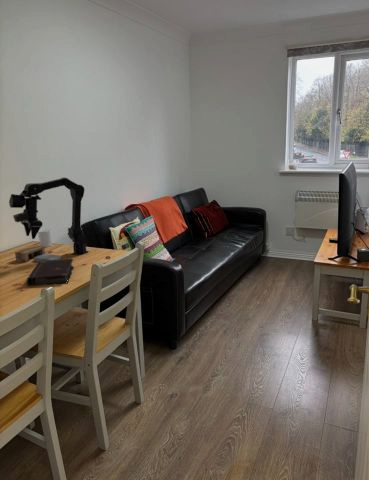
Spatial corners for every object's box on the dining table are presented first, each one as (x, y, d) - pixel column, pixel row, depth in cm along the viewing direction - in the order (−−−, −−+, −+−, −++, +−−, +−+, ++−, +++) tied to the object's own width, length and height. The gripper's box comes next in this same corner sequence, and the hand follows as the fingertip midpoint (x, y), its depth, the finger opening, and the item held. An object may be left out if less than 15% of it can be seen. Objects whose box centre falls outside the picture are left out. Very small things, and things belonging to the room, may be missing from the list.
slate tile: (61, 260, 217) (61, 255, 216) (51, 264, 210) (51, 259, 209) (44, 258, 221) (44, 253, 221) (34, 262, 214) (33, 257, 214)
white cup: (53, 246, 243) (52, 231, 241) (40, 248, 240) (38, 232, 238) (52, 243, 250) (50, 228, 248) (39, 245, 247) (37, 229, 244)
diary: (27, 287, 177) (25, 277, 176) (38, 270, 201) (37, 261, 200) (69, 284, 180) (68, 274, 178) (75, 267, 204) (74, 258, 202)
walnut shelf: (45, 255, 225) (44, 246, 224) (25, 262, 212) (24, 253, 211) (35, 253, 228) (34, 245, 227) (15, 261, 214) (14, 251, 213)
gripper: (9, 205, 208) (9, 234, 210) (20, 209, 193) (19, 241, 196) (31, 206, 215) (30, 234, 217) (43, 210, 200) (42, 240, 203)
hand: (30, 237), depth 208 cm, fingers open, 9 cm apart
